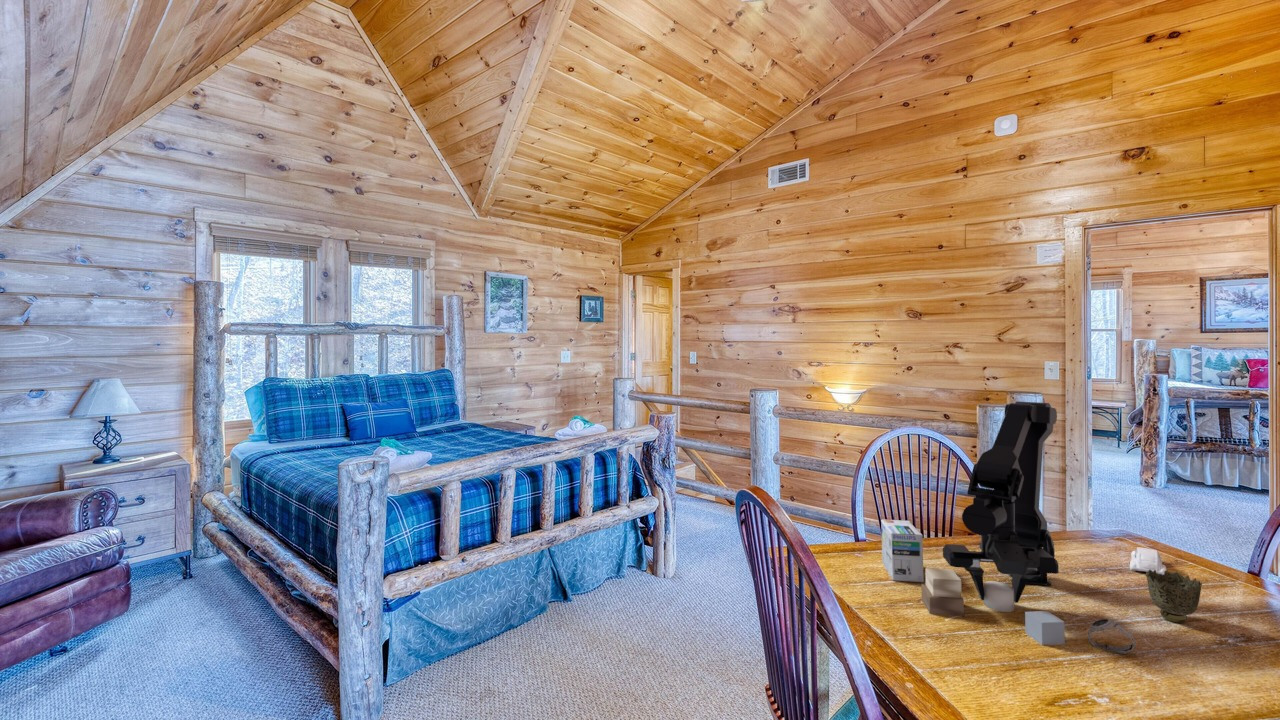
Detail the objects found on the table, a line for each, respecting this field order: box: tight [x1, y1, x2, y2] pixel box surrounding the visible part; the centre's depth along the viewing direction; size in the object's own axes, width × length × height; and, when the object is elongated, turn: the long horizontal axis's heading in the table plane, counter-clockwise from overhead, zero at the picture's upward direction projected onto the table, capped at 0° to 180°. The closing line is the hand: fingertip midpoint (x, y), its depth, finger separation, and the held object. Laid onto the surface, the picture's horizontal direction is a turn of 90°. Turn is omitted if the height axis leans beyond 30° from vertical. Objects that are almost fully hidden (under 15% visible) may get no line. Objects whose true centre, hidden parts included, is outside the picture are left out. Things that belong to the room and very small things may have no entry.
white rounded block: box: [1128, 546, 1168, 575], centre depth 126 cm, size 12×6×5 cm, turn 139°
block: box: [1024, 610, 1066, 646], centre depth 97 cm, size 4×4×4 cm
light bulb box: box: [880, 519, 924, 583], centre depth 126 cm, size 11×7×11 cm, turn 168°
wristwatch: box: [1087, 618, 1137, 655], centre depth 93 cm, size 4×6×5 cm, turn 51°
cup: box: [1145, 570, 1203, 624], centre depth 102 cm, size 8×7×8 cm
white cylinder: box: [983, 580, 1015, 613], centre depth 109 cm, size 5×5×4 cm
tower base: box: [921, 583, 965, 617], centre depth 109 cm, size 6×6×4 cm
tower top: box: [924, 567, 962, 598], centre depth 109 cm, size 5×5×4 cm
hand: (998, 600), depth 109 cm, fingers open, 6 cm apart
